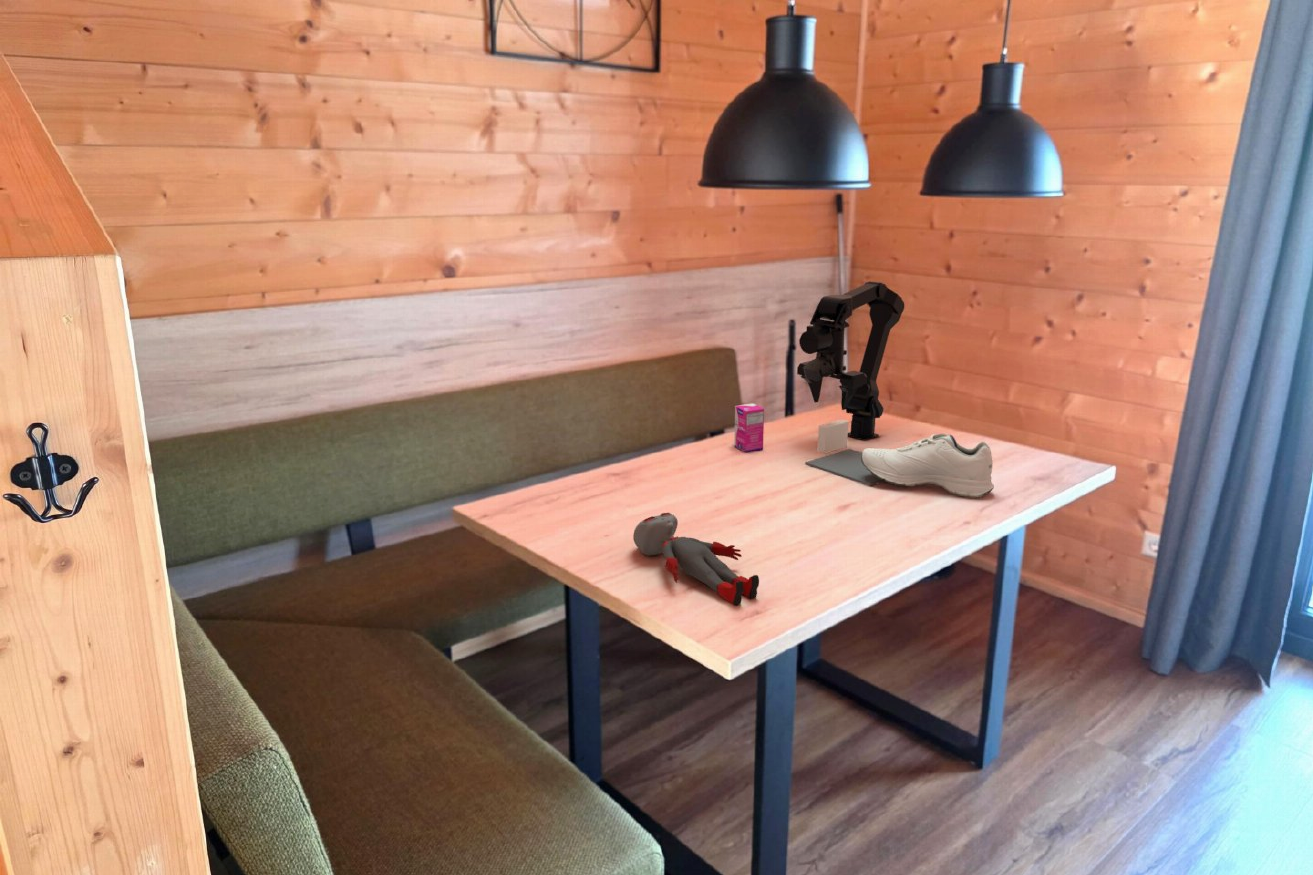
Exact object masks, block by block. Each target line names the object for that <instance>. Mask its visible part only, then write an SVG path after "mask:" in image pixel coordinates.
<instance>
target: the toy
mask: <svg viewBox="0 0 1313 875" xmlns="http://www.w3.org/2000/svg"><path fill="white" fill-rule="evenodd" d="M677 529H678V518H677V517H676V516H675V514H672V513H670V512H663V513H661V514H657V515H654V516H650V517H647V518H645V519H643V520H641V521H640V522H639V523H638V524H637V525H636V527H635V528H634V531H633V537H632V538H633V542H634V544H635V546H636V548H638V549H639V550H640V551H641V552H642V554H643V555H645V556H649V557H651V556H655V555H661V554H663V556H664V559H665V565H664V567H665V568H666V569H667V571H668V572H669V573H670V574H671V577H672V578H673V580H674V583H676V584H677V583H678V581H679V578H678V576H677V575H678V574H679V572H678V570H677V569H678V568H680V570H682V572H683V573H685V574H687V575H690V576H692V577H694V579H695V578H696V579H697V580H698V581H700V582H701V583H703V584H705V585H707V587H710V588H711V589H712V590H714V591H715V592H716V594H717V595H718V596H720V597H722V599H725V601H728V602H729V603H731V604H732V605H733V606H735V607H736V606H740V605H741V602H742V599H743V598H742V595H744V597H748V599H749V600H754V599H756V598H757V595H758V588H759V585H760V578H759V575H757V574H753V575H751V576H750V577H748V578H747V577H745V576H743V575H738V574H736V573H735V572H734V571H732V570H731V569H730V568H729V567H728V565H726V564H727V563H724V562H723V561H722V560H721V559H719V558H718V557H726V558H730V559H734V560H736V561H739V558H742V556H743V555H742V554H740V552H742V551H741V549H738V548H735V547H736V545H734V544H733V545H732V544H730V545H728V546H726V545H725V544H724V543H723V544H722V543H720V542H718V541H713V542H712V543H711V542H708V541H702V540H699V539H698V538H697V539H696V538H695V537H686V536H680V537H679V536H674V535H675V533H676V531H677ZM717 556H718V557H717ZM738 557H739V558H738Z"/></svg>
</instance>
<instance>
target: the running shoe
mask: <svg viewBox="0 0 1313 875" xmlns="http://www.w3.org/2000/svg"><path fill="white" fill-rule="evenodd" d="M861 462H862V464H863V465H864V466H865V467H866V469H867V470H868V471H870V473H871V474H873V475H874V476H876V475H877V478H879V479H881V480H885V481H884V482H885V483H889V484H892V485H893V484H894V486H901V487H902V486H905V487H915V486H921V485H929V484H930V485H935V486H939V487H942V488H943V489H944V490H946V492H948V493H950V494H952V495H955V494H956V495H957V496H961V497H969V498H972V499H973V498H979V497H980V498H981V497H983V496H986V495H988V494H990V493H991V492H993V490H994V486H995V485H994V484H993V482H992V472H993V454H992V451H991V448H990V446H989V445H988V444H987V442H985V441H981V442H979V443H978V444H977V445H976V446H975V447H974V448H972V449H970V448H966V447H965V446H962V445H961V444H959V443H958V442H957V440H956V439H955V437H954V435H952V434H946V433H937V434H934V433H933V434H931V435H930V436H929V437H925V438H922V439H920V440H917V441H915V442H913V443H912V444H910V445H904V446H903V447H897V448H893V449H892V448H872V447H868V448H864V449H863V451H862V455H861Z"/></svg>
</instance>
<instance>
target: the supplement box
mask: <svg viewBox="0 0 1313 875" xmlns="http://www.w3.org/2000/svg"><path fill="white" fill-rule="evenodd" d="M764 426H765V408H763V407H761V406H759V405H757V404H756V403H754V402H753V403H746V404H740V405H735V406H734V444H733V445H734V447H735V448H736V449H738V450H740V451H742V452H744V453H745V454H746V453H752V452H760V451H764V433H765V432H764V431H765V430H764Z"/></svg>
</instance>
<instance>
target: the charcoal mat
mask: <svg viewBox="0 0 1313 875" xmlns="http://www.w3.org/2000/svg"><path fill="white" fill-rule="evenodd" d="M862 453H863V451H858V450H855V449H851V448H847V449H844V450H841V451H837V452H834V453H831V454H827V455H824V456H821V457H818V458H815V459H814V458H813V459H811V460H808V461H805V462H804V464H805V465H806V466H808V467H812V468H815V469H817V470H821V471H824V472H826V473H830V474H833V475H834V476H835V475H836V476H838V477H842V478H844V479H848V480H850V481H854V482H856V483H859V484H862V485H866V486H867V487H872V486H874V485H877V484H880V483H882V482H885V480H881V479H879V478H877V475H876V476H874V475H873V474H871V473H870V471H868V470H867V469H866V467H865V466H864V465H863V464H862V462H861V455H862Z"/></svg>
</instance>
